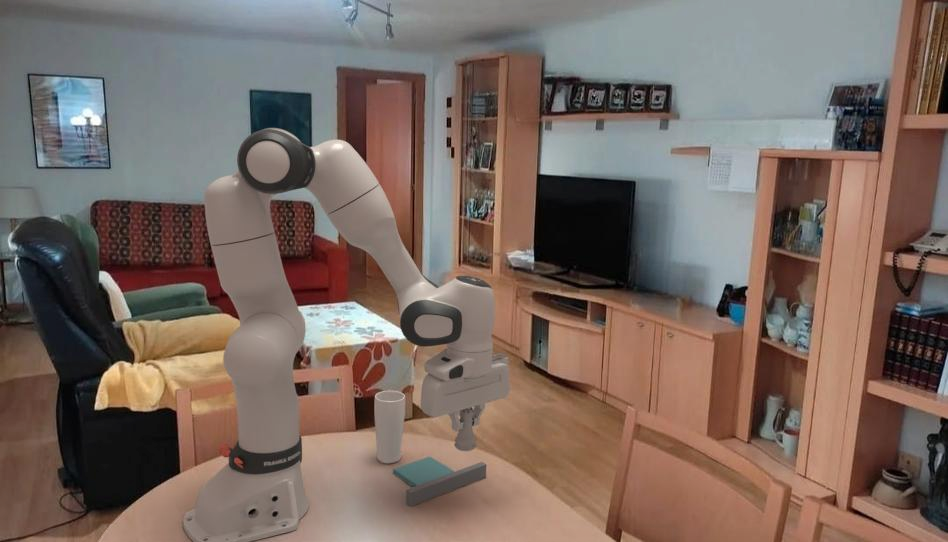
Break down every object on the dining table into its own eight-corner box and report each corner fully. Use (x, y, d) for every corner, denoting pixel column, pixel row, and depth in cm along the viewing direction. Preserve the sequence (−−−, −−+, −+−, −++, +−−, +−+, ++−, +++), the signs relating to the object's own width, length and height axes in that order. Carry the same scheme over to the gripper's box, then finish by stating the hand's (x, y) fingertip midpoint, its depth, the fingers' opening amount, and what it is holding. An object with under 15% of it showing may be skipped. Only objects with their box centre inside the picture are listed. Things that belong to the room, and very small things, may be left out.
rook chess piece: (473, 453, 134) (474, 413, 133) (451, 450, 135) (452, 411, 134) (479, 444, 138) (480, 406, 137) (457, 441, 140) (458, 403, 138)
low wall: (410, 506, 136) (410, 492, 136) (405, 503, 137) (406, 489, 137) (485, 477, 149) (486, 464, 149) (481, 474, 150) (481, 461, 150)
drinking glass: (371, 453, 158) (372, 391, 155) (400, 450, 160) (402, 389, 157) (376, 467, 151) (377, 402, 148) (406, 464, 153) (408, 400, 150)
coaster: (420, 492, 142) (420, 487, 142) (392, 473, 149) (392, 468, 149) (458, 478, 148) (458, 473, 148) (429, 460, 156) (429, 456, 156)
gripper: (497, 347, 143) (493, 410, 145) (417, 364, 129) (414, 433, 132) (519, 355, 138) (514, 420, 141) (437, 374, 125) (434, 445, 127)
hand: (465, 427), depth 136 cm, fingers closed on rook chess piece, 3 cm apart
